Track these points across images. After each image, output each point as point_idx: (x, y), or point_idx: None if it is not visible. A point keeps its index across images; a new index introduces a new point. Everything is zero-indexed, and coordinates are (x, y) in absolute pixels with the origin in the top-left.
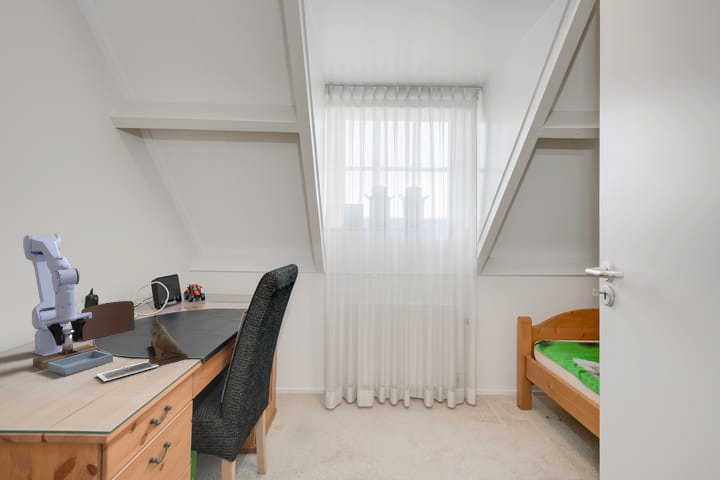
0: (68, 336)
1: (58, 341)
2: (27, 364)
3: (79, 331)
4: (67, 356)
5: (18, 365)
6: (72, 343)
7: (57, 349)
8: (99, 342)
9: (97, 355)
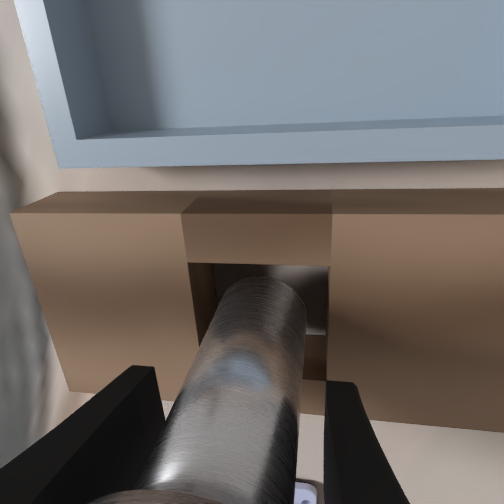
0: (219, 462)
1: (371, 447)
2: (457, 445)
3: (11, 481)
4: (316, 214)
5: (493, 475)
6: (200, 358)
7: None
8: (8, 444)
9: (83, 56)
